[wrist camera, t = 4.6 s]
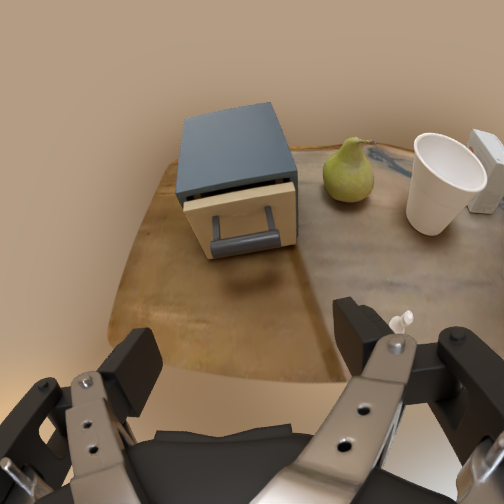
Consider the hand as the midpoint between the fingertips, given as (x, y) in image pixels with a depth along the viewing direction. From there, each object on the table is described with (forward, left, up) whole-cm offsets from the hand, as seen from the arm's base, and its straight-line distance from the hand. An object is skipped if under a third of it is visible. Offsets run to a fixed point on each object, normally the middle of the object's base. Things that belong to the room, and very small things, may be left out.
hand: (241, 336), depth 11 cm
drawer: (0, -19, -16) cm, 24 cm away
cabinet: (0, -23, -16) cm, 28 cm away
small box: (-37, -18, -17) cm, 44 cm away
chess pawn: (-14, -2, -17) cm, 22 cm away
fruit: (-14, -21, -17) cm, 30 cm away
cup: (-24, -15, -17) cm, 33 cm away
